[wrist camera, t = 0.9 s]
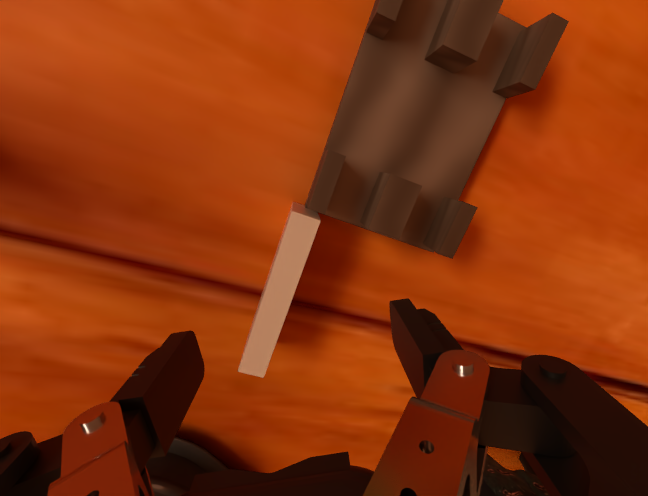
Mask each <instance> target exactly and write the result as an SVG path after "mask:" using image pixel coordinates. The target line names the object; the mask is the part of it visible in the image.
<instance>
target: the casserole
mask: <svg viewBox="0 0 648 496" xmlns="http://www.w3.org/2000/svg"><path fill="white" fill-rule="evenodd" d="M145 466H146V468H147V471H148V473H149V477H150V481H151V485H152V488H153V492H154V496H180V495H182V494H184V493H186V492H188V491H189V490H190V488H191V485H192V482H193V479H194V477H195V475H198V474H204V473H211V472H217V471H224V470H231V469H229V468H227V467H226V466H225V465H224V464H223V463H221V462H220V461H219V460H218V459H217V458H215V457H214V456H213V455H212V454H211V453H209V452H208V451H207V450H205V449H204V448H202V447H200V446H198V445H196V444H195V443H192V442H190V441H187V440H184V439H181V438H178V437H175V438H174V440H173V442H172V444H171V446H170V448H169V450H168V452H167V454H166V456H163V457H156V458H150V459H149V460H148V462H147V463H146V465H145Z"/></svg>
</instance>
